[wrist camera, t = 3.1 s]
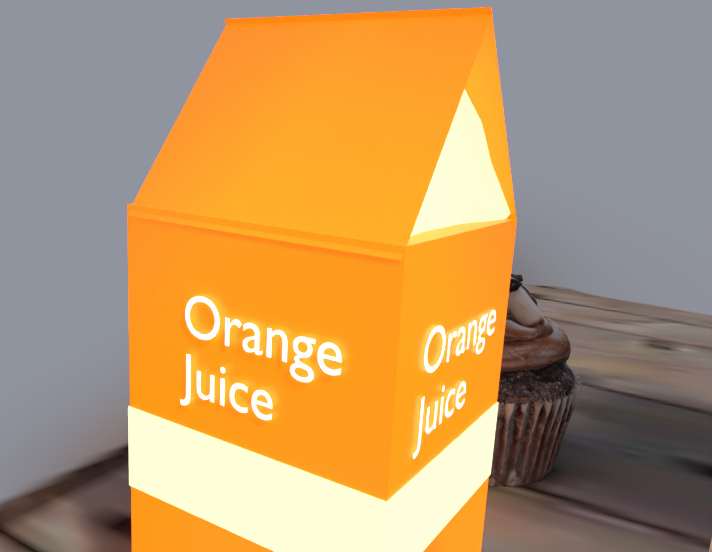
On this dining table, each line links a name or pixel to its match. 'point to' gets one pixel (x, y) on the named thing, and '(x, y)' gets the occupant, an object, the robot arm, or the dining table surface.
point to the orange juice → (323, 291)
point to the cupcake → (531, 393)
